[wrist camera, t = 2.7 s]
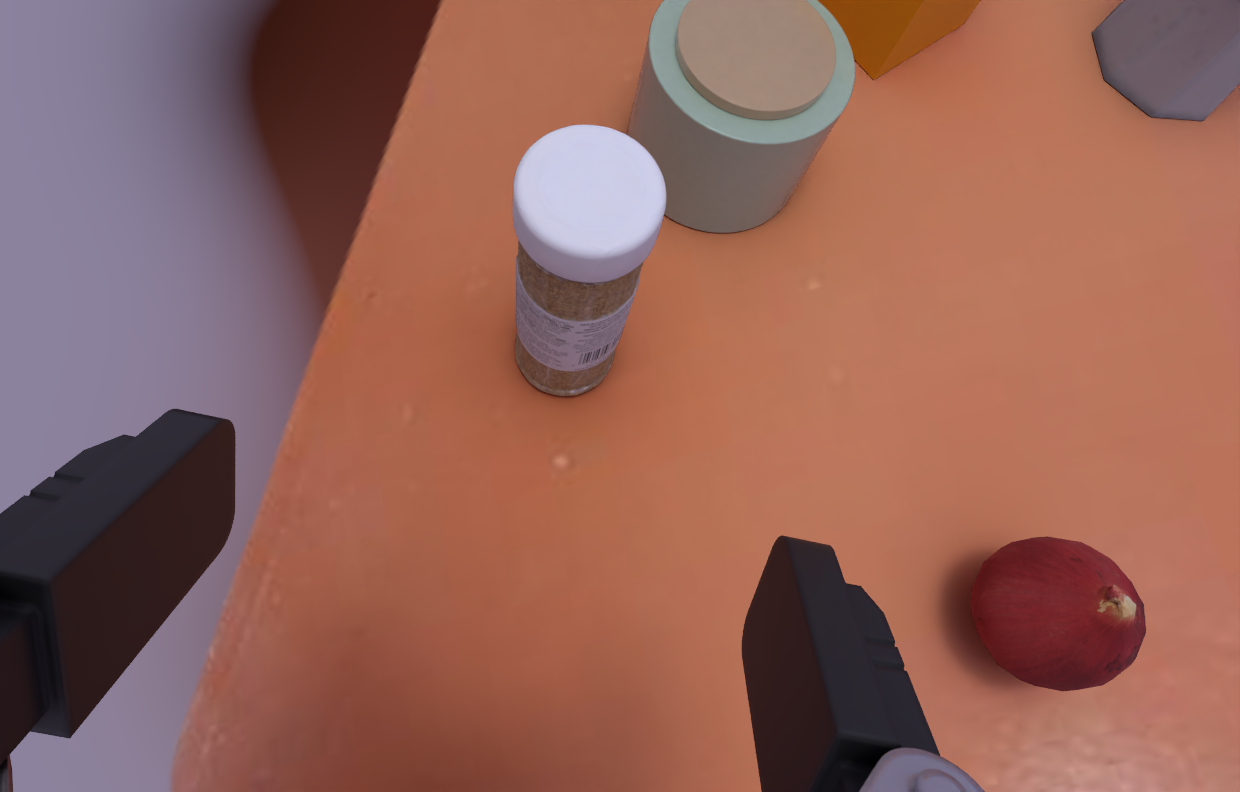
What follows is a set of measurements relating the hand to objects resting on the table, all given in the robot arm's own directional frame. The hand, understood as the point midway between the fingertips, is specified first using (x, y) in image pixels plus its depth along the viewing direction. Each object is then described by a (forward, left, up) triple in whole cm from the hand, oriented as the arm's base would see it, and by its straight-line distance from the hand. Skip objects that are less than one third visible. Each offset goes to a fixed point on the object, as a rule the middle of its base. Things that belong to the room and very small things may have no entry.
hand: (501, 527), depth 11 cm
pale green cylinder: (+1, +24, -21) cm, 32 cm away
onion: (+20, +7, -21) cm, 30 cm away
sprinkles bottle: (-2, +11, -21) cm, 24 cm away
